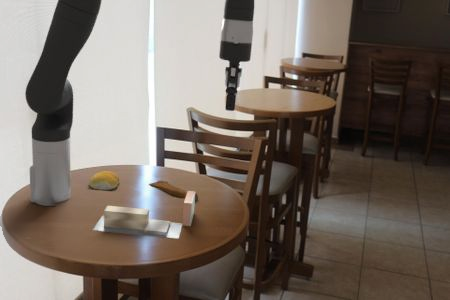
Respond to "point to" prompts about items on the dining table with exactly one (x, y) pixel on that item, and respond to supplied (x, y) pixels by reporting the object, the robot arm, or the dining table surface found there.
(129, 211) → the beige stepped block
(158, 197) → the dining table surface
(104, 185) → the bread roll
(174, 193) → the primitive tool
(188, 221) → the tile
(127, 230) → the plate
